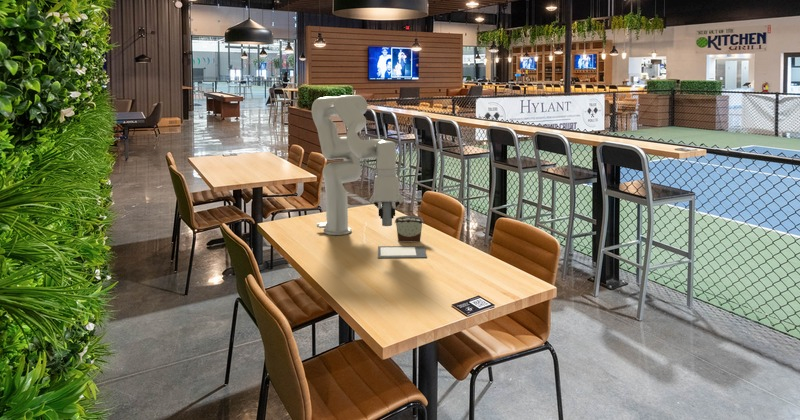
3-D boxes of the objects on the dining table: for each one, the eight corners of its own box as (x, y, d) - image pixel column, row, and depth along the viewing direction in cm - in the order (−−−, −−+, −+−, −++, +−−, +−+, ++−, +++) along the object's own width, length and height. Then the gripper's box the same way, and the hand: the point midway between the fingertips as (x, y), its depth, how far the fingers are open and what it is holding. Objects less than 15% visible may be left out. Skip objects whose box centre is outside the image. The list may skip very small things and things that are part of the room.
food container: (424, 238, 252) (424, 215, 250) (423, 242, 246) (423, 219, 244) (396, 237, 254) (396, 215, 251) (394, 241, 248) (394, 218, 245)
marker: (381, 226, 231) (381, 194, 228) (381, 223, 235) (381, 192, 233) (392, 226, 231) (392, 194, 229) (392, 223, 236) (391, 192, 233)
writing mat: (377, 258, 225) (377, 257, 225) (378, 247, 239) (378, 246, 239) (426, 257, 225) (426, 256, 225) (424, 246, 240) (424, 245, 240)
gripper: (364, 174, 225) (365, 220, 229) (407, 173, 225) (408, 219, 229) (365, 171, 232) (366, 216, 236) (407, 170, 233) (407, 215, 237)
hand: (386, 217), depth 233 cm, fingers closed on marker, 3 cm apart
